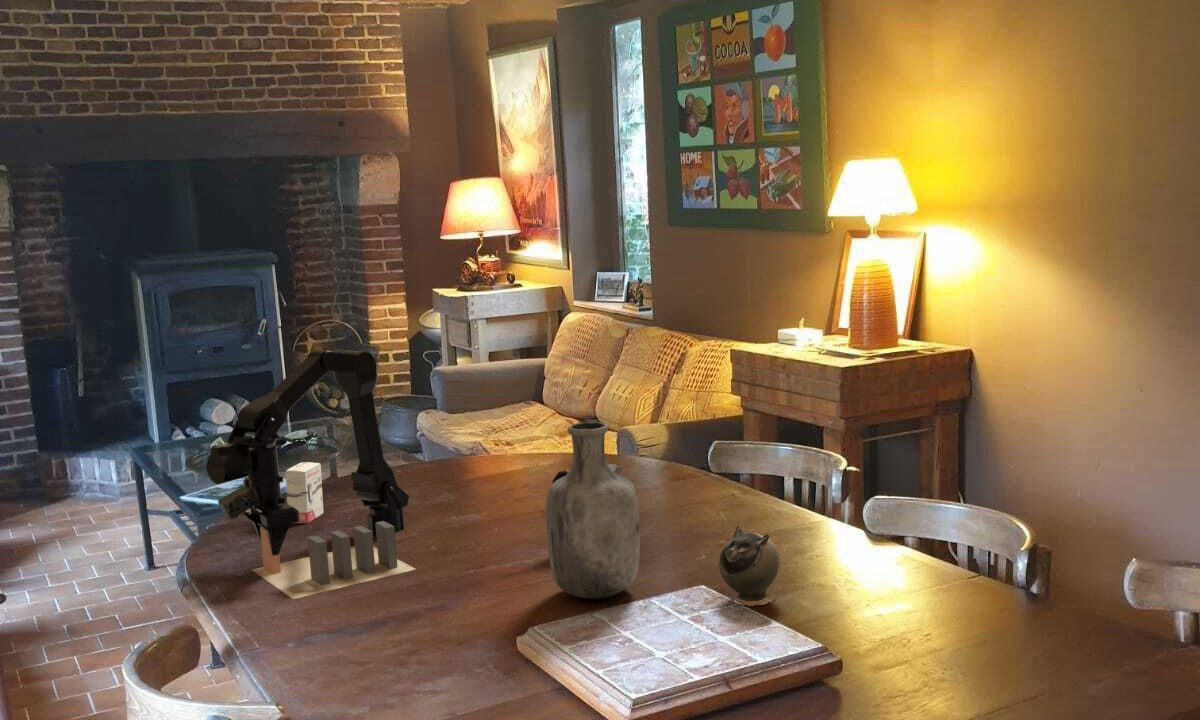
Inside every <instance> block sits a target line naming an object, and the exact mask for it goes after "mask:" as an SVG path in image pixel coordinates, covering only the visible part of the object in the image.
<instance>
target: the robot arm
mask: <svg viewBox="0 0 1200 720" xmlns="http://www.w3.org/2000/svg"><path fill="white" fill-rule="evenodd" d="M328 372H333V373H334V374H335V378H336V379H337V380H336V382H337V383H338V385H339V386H340V387H341V389H342V390H343V391H344V393H345V395H346V396H347V399H348V405H349V410H350V416H351V422H352V428H353V433H354V438H355V444H356V449H357V454H358V460H359V463H358V466H357V468H356V471H352V472H351V474H350V475H351V479H352V483H353V484H352V485H353V488H352V491H353V492H355V493H356V495H357V497H358V498H360V500H361V503H362V505H363V506H364V507H368V514H367V515H366V518H367V519H366V520H367V529H369V530H371V531H372V535H373V537H377V536H376V522H381V521H384V522H386V523H388V524H391V525H393V526H394V528H395V534H396V533H399V532H401V531H405V523H404V511H403V508H405V507H407V506H408V503H409V497H410V496H409V494H408V493H406V492H405V491H404V490H403V489H402V488H400V486H398V482H397V478H396V476H395V473H394V470H393V469H392V467H391V466H390V465H389V464H388V461H386V459H385V457H384V453H383V447H382V442H381V436H380V430H379V425H378V419H377V413H376V408H375V407H376V406H375V401H374V396H373V391H374V388H375V385H376V382H377V380H378V378H377V376H378V374H377V360H376V358H375V356H374V355H372V354H371V353H370V352H367V351H359V350H358V351H357V350H348V349H346V350H342V351H340V352H332V350H328V349H327V350H326V349H325V350H323V349H314V350H312V351H310V352H309V353H308V354H307V357H306V358H305V359H304V360H303V361H302V362H300V364H299V365H298V366H296V368H295V369H293V370H292V371H291V372H290V373H289V374H288V375H287V376H286V377H285V378H284V379H283V380H282V381H281V382H280V383H279V384H278V385H277V386H276V387H274V389H272V390H271V391H270V392H268V393H267V394H265V395H263V396H261V397H258V398H255V399H254V400H252V401H251V402H249V403H247V404H245V405H244V406H242V408H241V409H240V410H239V411H238V413H237V415H236V417H237V419H236V422H235V424H234V426H233V428H232V431H231V432H230V434H229V436H228V439H227V441H226V444H224V445H215V446H212V447H211V454H209V456H208V458H207V460H206V464H205V465H206V466H205V467H206V472H207V476H208V477H209V479H210V480H211V482H213V483H214V484H216V485H221V484H224V483H228V482H233V481H237V480H240V479H243V481H242V483H243V486H241V487H240V488H237V489H235V490H233V491H232V492H230V493H228V494H226V495H225V496H223V497H221V498H218V500H217V503H218V504H219V507H220V509H221V511H222V513H223V515H224V516H225V517H227V518H228V519H229V520H234V519H236V518H238V517H239V516H240V515H241V514H242V516H243V517H245V518H246V519H248V520H250V521H251V522H252V525H253V527H254V529H255V531H256V534H257V537H258V539H259V540H258V541H259V542H260V545H261V546H262V544H261V534H260V527H263V528H264V529H265V530H266V532H267V536H268V540H269V544H270V548H271V552H272V555H273V556H275V555H278V554H279V555H280V551H281V549H282V546H283V543H284V541H285V538H286V535H287V533H288V531H289V529H290V527H291V525H292V524H296V523H295V522H298V521H300V519H299V511H298V510H297V509H295V508H294V507H292V506H290V505H288V504H287V503H286V497H284V496H282V492H281V491H282V489H281V483H283V482H284V476H282V475H280V472H279V471H280V470H279V460H278V450H277V449H278V448H277V447H280V446H284V445H286V444H287V441H286V440H285V439H284V438H282V437H281V436H280V435H279V434H278V433H279V431H280V429H281V428H282V426H283V425H284V424H285V423H286V421H287V417H288V413H289V411H291V409H292V407H294V405H296V403H298V401H299V400H300V399H302V398H303V397H304V395H306V394H307V393H308V392H309V391H310V390H311V389H312V388H313V387H314V386H315V385H316V384H317V383H318V382H319V381H320V380H321V379H322V378H323V377H324V376H325V375H327V373H328Z"/></svg>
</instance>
